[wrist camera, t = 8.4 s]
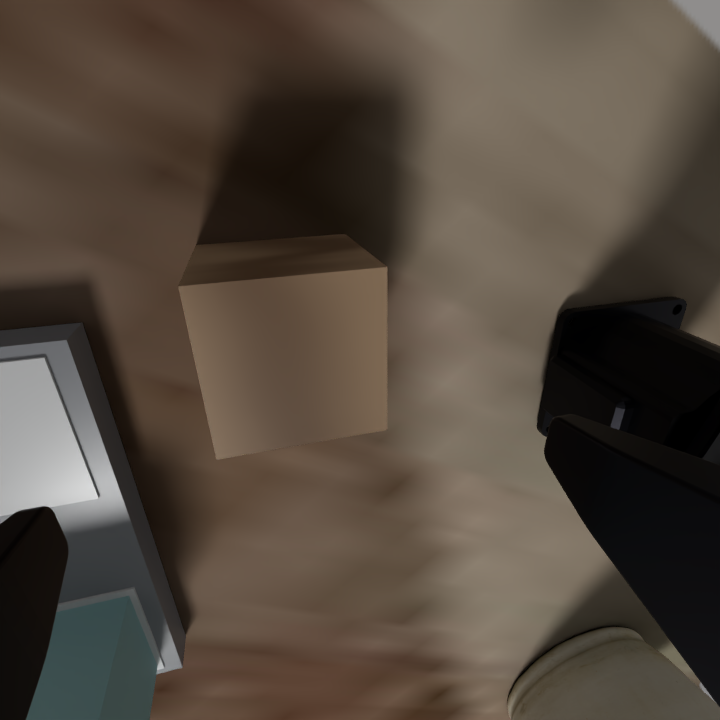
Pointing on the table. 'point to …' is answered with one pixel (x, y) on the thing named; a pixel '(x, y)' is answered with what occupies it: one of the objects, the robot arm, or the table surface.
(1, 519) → the baseplate
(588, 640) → the jug
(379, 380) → the walnut block
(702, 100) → the table surface
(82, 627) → the teal block
